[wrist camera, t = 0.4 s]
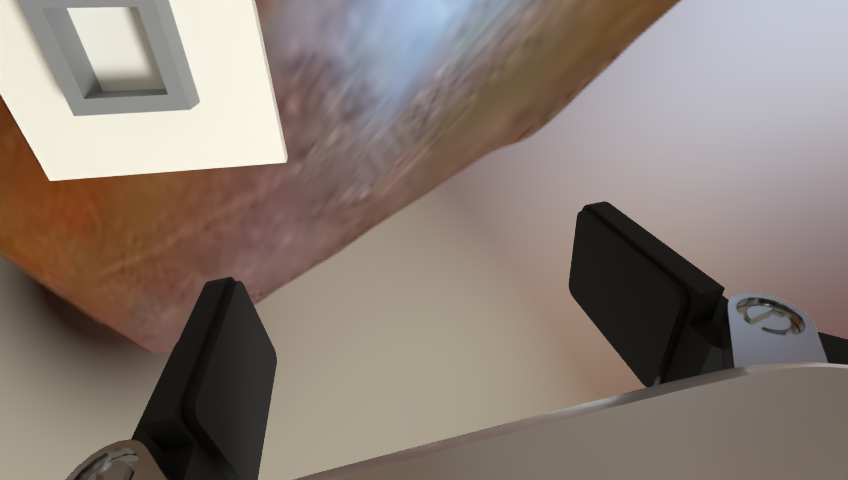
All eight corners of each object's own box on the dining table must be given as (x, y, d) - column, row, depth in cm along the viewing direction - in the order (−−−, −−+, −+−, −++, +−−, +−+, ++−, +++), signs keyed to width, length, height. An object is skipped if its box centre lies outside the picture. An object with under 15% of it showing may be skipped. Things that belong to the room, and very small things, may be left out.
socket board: (-103, -122, 24) (-178, -143, 21) (231, -112, 27) (215, -129, 24) (60, 174, 35) (28, 194, 31) (287, 157, 38) (282, 173, 34)
